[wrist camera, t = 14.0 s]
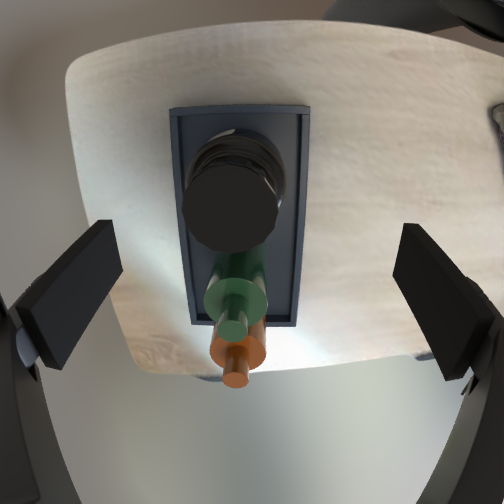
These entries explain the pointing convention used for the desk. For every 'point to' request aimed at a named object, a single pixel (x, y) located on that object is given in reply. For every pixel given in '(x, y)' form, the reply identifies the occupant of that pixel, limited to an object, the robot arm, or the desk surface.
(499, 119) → the mineral rock
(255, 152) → the ink bottle
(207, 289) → the green bottle
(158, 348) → the desk surface
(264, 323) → the amber bottle
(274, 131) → the tray
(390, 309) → the desk surface
